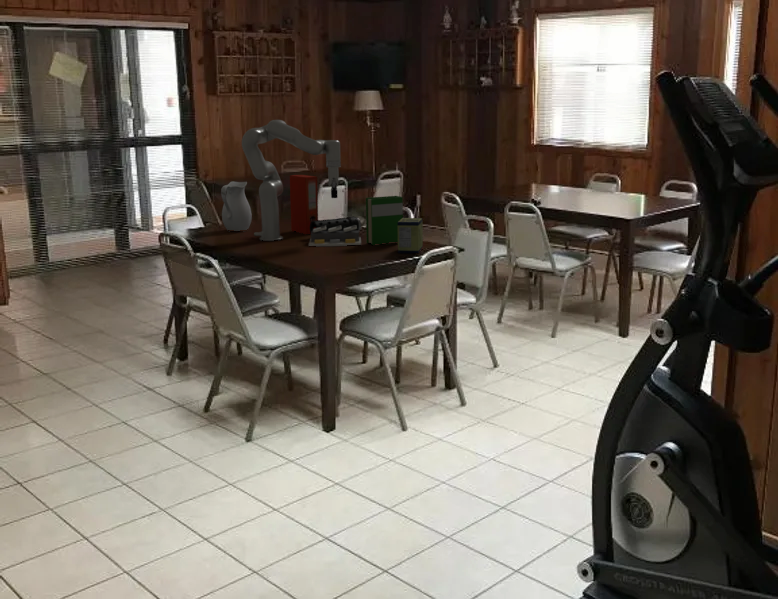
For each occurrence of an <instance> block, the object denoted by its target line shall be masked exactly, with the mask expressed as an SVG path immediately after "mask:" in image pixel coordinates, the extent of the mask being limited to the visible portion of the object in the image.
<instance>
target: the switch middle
mask: <svg viewBox="0 0 778 599" xmlns="http://www.w3.org/2000/svg"><path fill="white" fill-rule="evenodd" d="M340 229H342V227H341V225H340V226H336V227H333V228H329V229H328V231H329V232H333V231H336V230H340Z"/></svg>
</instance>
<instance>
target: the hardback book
mask: <svg viewBox="0 0 778 599" xmlns="http://www.w3.org/2000/svg"><path fill="white" fill-rule="evenodd" d="M403 198H404V197H403V196H400V195H399V196H398V195H391V196H390V195H387V196H375V197H374V196H372V197H365V221H366V222H365V223H366V224H365V226H366V227H365V228H366V230H365V232H366V234H365V235H366V244H367V243H371V244H370V245H371V246H372V245H375V244H382V243H389V242H398V221H400V220H401V219H402V218H404V213H403V212H404V209H403V208H404V203H403V200H404V199H403Z"/></svg>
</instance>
